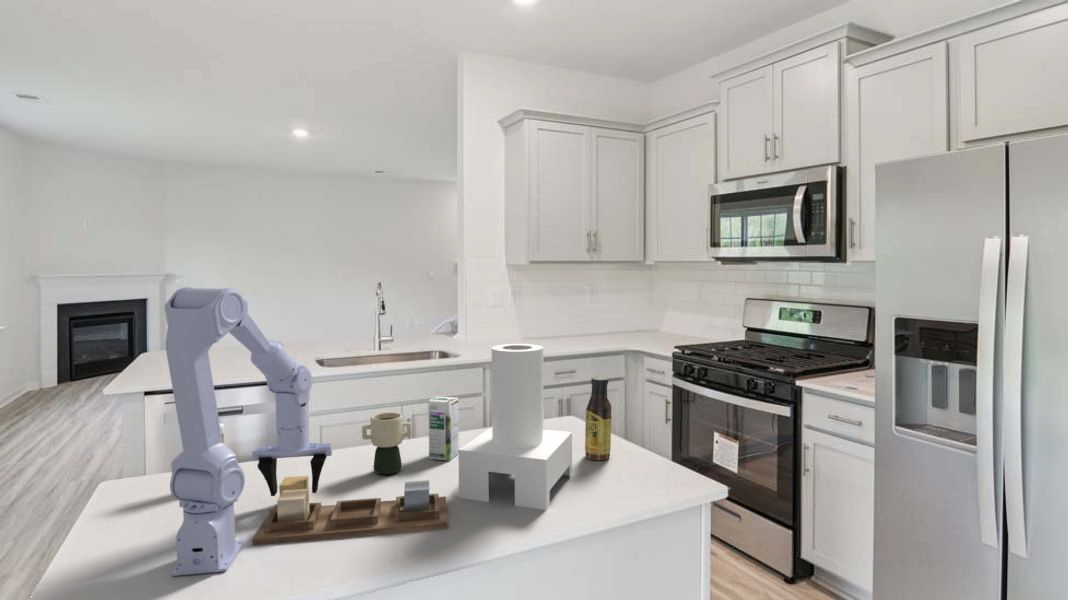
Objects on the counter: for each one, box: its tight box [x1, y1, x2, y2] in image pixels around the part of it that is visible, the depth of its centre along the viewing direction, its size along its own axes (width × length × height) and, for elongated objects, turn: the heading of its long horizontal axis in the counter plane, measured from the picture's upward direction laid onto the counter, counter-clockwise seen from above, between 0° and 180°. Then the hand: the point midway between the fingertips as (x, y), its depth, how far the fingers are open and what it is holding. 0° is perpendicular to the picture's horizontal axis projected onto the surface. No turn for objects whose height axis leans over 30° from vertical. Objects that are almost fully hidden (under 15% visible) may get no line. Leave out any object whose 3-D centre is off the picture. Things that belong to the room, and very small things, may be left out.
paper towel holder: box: [458, 343, 573, 511], centre depth 124 cm, size 19×19×30 cm
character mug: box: [361, 411, 412, 475], centre depth 133 cm, size 11×7×13 cm, turn 105°
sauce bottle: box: [584, 375, 612, 462], centre depth 142 cm, size 7×6×20 cm
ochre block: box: [278, 475, 310, 496], centre depth 116 cm, size 4×4×5 cm
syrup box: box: [427, 396, 460, 462], centre depth 143 cm, size 6×6×14 cm
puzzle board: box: [251, 479, 449, 546], centre depth 108 cm, size 12×33×6 cm, turn 101°
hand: (294, 492), depth 116 cm, fingers open, 7 cm apart
